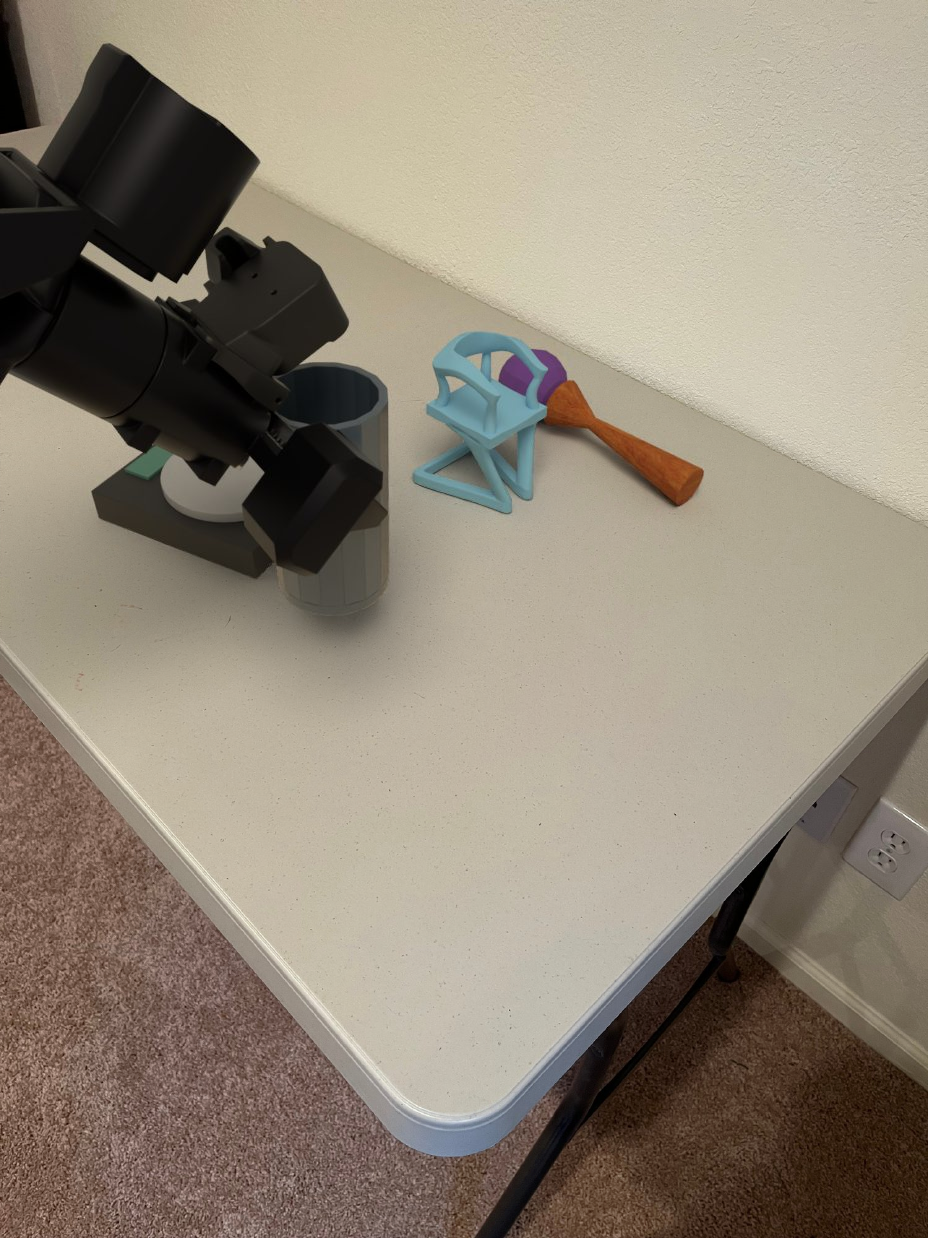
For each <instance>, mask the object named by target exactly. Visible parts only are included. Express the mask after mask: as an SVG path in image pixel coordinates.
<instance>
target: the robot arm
mask: <svg viewBox="0 0 928 1238" xmlns="http://www.w3.org/2000/svg"><path fill="white" fill-rule="evenodd" d="M260 164H261V160H260V159H259V157H258V156H257V155H256V153H254V151H253V150H252V149H250V147H249V146H248V145H247V144H246V143H244V141H243V140H241V138H240V137H238V135H236V134H235V133H234V132H233V131H232V130H231V129H229V128H228V126H227V125H225V124H224V123H222V122H221V121H220V120H219V119H218V118H216V117H214V116H212V115H211V114H209V113H208V112H206V111H204V110H202V109H201V108H200V107H198V106H196V105H195V104H193V103H191V102H190V101H188V100H187V99H185V98H184V97H183V96H182V95H180V94H179V93H178V92H177V91H176V90H174V89H173V88H171V87H170V86H169V85H167V83H165V82H163V81H162V80H161V79H159V78H158V77H157V76H155V75H154V74H153V73H152V72H150V71H149V70H148V69H147V68H146V67H144V65H143V64H141V62H139V61H138V59H136V58H135V57H133V56H132V55H131V54H130V53H128V52H127V51H124V50H123V49H121V48H120V47H117V46H116V45H114V44H113V43H111V42H108V43H107V42H106V43H102V44H101V46H100V47H99V49H98V51H97V53H96V54H95V56H94V58H93V59H92V61H91V62H90V65H89V66H88V68H87V70H86V72H85V75H84V79H83V82H82V86H81V89H80V92H79V93H78V95H77V98H76V99H75V101H74V102H73V104H72V106H71V108H70V109H69V111H68V112H67V114H66V116H65V117H64V120H63V121H62V122H61V124H60V125H59V127H58V129H57V130H56V132H55V134H54V136H53V137H52V139H51V141H50V142H49V144H48V146H47V148H46V149H45V150H44V153H43V154H42V156H41V158H40V159H39V161H38V162H37V164H36V163H35V162H34V161H32V160H31V159H30V158H28V157H27V156H26V155H25V154H24V153H23V152H21V151H20V150H19V149H18V148H15V147H10V146H9V147H5V146H3V147H0V386H1V385H2V384H3V382H4V381H5V379H6V377H7V376H8V375H11V376H13V377H15V378H17V379H19V380H21V381H23V382H25V383H27V384H29V385H31V386H33V387H36V388H37V389H40V390H41V391H43V392H45V393H47V394H50V395H52V396H54V397H56V398H58V399H61V400H62V401H64V402H66V403H68V404H70V405H72V406H74V407H76V408H78V409H80V410H82V411H85V412H86V413H89V414H91V415H92V416H94V417H96V418H99V419H101V420H103V421H104V422H107V423H108V424H111V426H113V428H114V429H115V431H116V432H117V433H118V435H119V436H120V437H121V439H122V440H123V441H124V443H125V444H126V445H127V446H128V447H130V448H133V449H135V450H136V451H139V452H141V453H145V454H146V453H147V452H148V451H149V449H150V448H151V446H152V445H153V444H154V445H156V446H158V447H160V448H162V449H164V450H166V451H168V452H170V453H172V454H174V455H176V456H178V457H180V458H183V460H184V461H185V462H186V463H187V465H188V466H189V467H190V468H191V470H192V471H193V472H194V473H195V475H196V476H197V477H198V478H199V479H200V480H202V481H204V482H206V483H208V484H210V485H212V486H216V485H217V483H218V482H219V481H220V479H221V478H222V476H223V475H224V474H225V472H226V471H227V469H228V468H229V467H230V466H232V467H233V468H235V469H237V470H241V469H242V468H243V467H244V465H245V464H246V463H247V461H248V459H249V457H251V458H252V459H253V460H254V461H255V463H256V464H257V465H258V466H259V467H260V468H261V469H262V470H263V472H264V474H263V475H262V477H261V478H260V480H259V481H258V482H257V484H256V485H255V487H254V488H253V489H252V491H251V492H250V493H249V495H248V496H247V498H246V499H245V500H244V502H243V503H242V511H243V518H244V525H245V527H246V528H247V530H248V531H249V532H250V533H251V535H252V536H253V537H254V538H255V540H256V541H257V542H258V543H259V544H260V546H261V547H262V548H263V549H264V551H265V552H266V553H267V554H268V555H269V557H270V558H271V559H272V560H273V563H274V564H275V566H276V565H277V566H279V567H281V568H284V569H286V570H288V571H291V572H293V573H296V574H298V575H301V576H303V577H307V576H312V575H317V574H318V573H319V571H320V570H321V569H322V567H323V566H324V565H325V563H326V562H327V561H328V559H329V558H330V557H331V555H332V554H333V553H334V552H335V550H336V549H337V548H338V546H339V545H340V544H341V542H342V541H343V540H344V538H345V537H346V536H347V534H348V533H349V532H352V531H357V530H363V529H369V528H375V527H378V526H379V525H380V524H381V522H382V521H383V520H384V518H385V517H386V516H387V514H388V511H387V510H386V509H385V508H384V507H383V506H382V505H381V504H380V503H379V502H378V501H377V500H376V499H375V497H376V496H377V495H378V493H379V492H380V491H381V489H382V487H383V472H382V471H381V470H380V469H379V468H378V467H377V466H376V465H375V464H374V463H373V462H372V461H371V460H370V459H369V458H368V457H367V456H366V455H365V454H364V453H363V452H362V451H361V450H360V449H359V448H358V447H357V446H355V445H354V444H353V443H352V442H351V441H350V440H349V439H348V438H347V437H346V436H345V435H343V434H342V433H341V432H340V431H339V430H338V429H337V430H335V429H333V428H331V427H330V426H328V425H327V424H325V423H323V422H322V421H320V422H317V423H314V424H311V425H307V426H304V427H301V428H298V429H296V430H294V429H293V428H292V427H291V426H290V425H289V424H288V423H287V422H286V421H285V420H284V419H283V418H282V417H281V416H280V415H279V414H278V413H277V412H276V411H277V410H278V409H279V407H280V406H281V405H282V403H283V402H284V400H285V399H286V398H287V396H288V395H289V393H290V392H291V391H290V390H289V389H288V388H287V387H286V386H285V385H284V384H283V383H282V382H280V381H279V380H277V379H276V378H274V377H272V376H280V375H284V374H286V373H288V372H290V371H291V370H293V369H294V368H295V367H297V366H298V365H299V364H303V362H305V361H306V360H307V359H308V358H310V357H311V356H312V355H313V354H315V353H316V352H317V351H319V350H320V349H321V348H322V347H324V346H325V345H327V344H328V343H334V342H336V341H337V340H338V339H340V338H341V337H342V336H344V334H345V333H346V332H347V330H348V328H349V326H350V319H349V317H348V315H347V313H346V312H345V309H344V307H343V306H342V304H341V301H340V300H339V298H338V296H337V294H336V292H335V290H334V289H333V287H332V285H331V283H330V281H329V280H328V277H327V275H326V274H325V272H324V269H323V268H322V266H321V265H319V263H317V262H316V261H315V260H314V259H312V258H311V257H310V256H308V255H307V254H306V253H304V252H303V251H302V250H300V249H299V248H298V247H297V246H296V245H294V244H293V243H291V242H290V241H287V240H278V241H276V240H275V239H274V238H272V237H271V236H270V235H267V236H266V237H264V238H262V243H263V244H264V246H265V247H261V246H259V245H258V244H256V243H255V242H254V241H252V240H251V239H249V238H248V237H246V236H244V235H242V234H241V233H239V232H238V231H236V230H234V229H232V228H231V227H229V226H225V227H223V228H222V229H220V230H219V228H220V226H221V224H222V223H223V222H224V220H225V219H226V216H227V215H228V214H229V212H230V211H231V209H232V208H233V207H234V205H235V203H236V201H237V200H238V198H239V197H240V195H241V194H242V192H243V191H244V189H245V188H246V185H248V183H249V182H250V180H251V178H252V177H253V175H254V173H255V172H256V171H257V169H258V167H259V166H260ZM218 230H219V231H218ZM217 231H218V232H217ZM88 243H90V244H91V245H93V246H94V247H96V248H97V249H98V250H100V251H102V252H103V253H104V254H106V255H108V257H111V258H112V259H113V260H114V261H116V262H118V263H119V264H120V265H122V266H124V267H125V268H126V269H128V270H129V271H131V272H133V274H136V275H137V276H138V277H140V278H142V279H144V280H146V281H147V282H150V283H153V281H154V280H155V279H156V277H157V276H158V274H160V275H161V276H162V277H164V278H166V279H168V280H169V281H171V282H172V283H174V284H176V285H178V283H179V282H180V280H181V279H182V276H183V275H185V276H189V274H190V273H191V272H192V270H193V268H194V266H195V265H196V264H197V262H198V260H199V259H200V258H201V256H202V254H203V252H204V253H205V262H206V263H205V264H206V271H207V272H206V273H207V276H208V280H207V281H206V282H205V283H203V285H202V286H203V288H205V291H206V292H207V296H204V298H203V299H202V300H200V301H199V299H197V298H192V299H186V300H182V301H178V300H177V299H175V298H173V297H172V296H169V295H168V297H167V298H166V299H164V298H162V297H161V296H159V295H157V296H156V297H155V298H154V300H153V299H152V298H151V297H149V296H147V295H146V294H144V293H142V292H141V291H139V290H138V289H136V288H135V287H134V286H132V285H130V284H128V283H127V282H126V281H124V280H122V279H121V278H119V277H118V276H116V275H115V274H113V273H111V272H110V271H108V270H106V269H105V268H103V267H102V266H101V265H99V264H97V263H96V262H94V261H93V260H91V259H90V258H88V257H86V256H85V255H84V254H82V252H83V251H84V249H85V247H86V246H87V245H88ZM266 431H267V432H268V434H269V435H271V437H272V438H273V439H275V441H276V442H277V443H279V446H281V447H283V448H282V449H281V448H280V447H279V446H278V445H277V444H276V443H275V442H274V441H273V440H272V439H271V438H270V437H269V435H268V434H267V433H266Z"/></svg>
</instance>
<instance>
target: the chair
mask: <svg viewBox="0 0 928 1238" xmlns="http://www.w3.org/2000/svg"><path fill="white" fill-rule="evenodd" d="M531 349H532V348H530V347H529V345H528V344H527V343H526V342H524V341H523V340H522V339H519V338H518V337H514V336H510V335H506V334H502V333H498V332H492V331H485V330H484V331H482V330H474V331H466V332H464V333H460V334H458V335H457V336H455V337H454V338H453V339H451V340H450V341H449V342H448V343H446V345H444V347H443V348H441V350H439V352H438V353H437V354H436V355H435V356H434V358H433V360H432V363H431V365H432V369H433V372H434V375H435V378H436V381H437V385H438V394H437V397H436V398H435V399H433V400H431V401H429V402H427V403H426V405H425V408H426V409H425V415H427V416H429V417H430V418H432V419H434V420H436V421H438V422H440V423H443V424H444V425H445V426H447V427H448V428H449V429H450V430H451V431H452V432H454V433H455V434H456V435H457V436H458V437H459V438H460V439H461V440H462V441H463V442H461V443H459V444H458V445H456V446H454V447H452V448H450V449H448V450H447V451H445V452H444V453H442V454H440V455H438V456H436V457H435V458H433V459H430V460H429V461H428V462H426V463H424V464H422V465H421V466H419V467H418V468H416V469H414V470H413V472H412V481H413V482H414V483H415V484H417V485H419V486H421V487H425V488H428V489H429V490H434V491H436V492H440V493H443V494H446V495H449V496H452V497H455V498H459V499H463V500H465V501H469V502H473V503H476V504H479V505H482V506H485V507H487V508H490V509H492V510H495V511H498V512H501V513H503V514H510V513H511V512H512V511H513V504H512V503H513V502H512V501H513V499H512V497H511V494H509V492H508V490H507V488H506V486H508V487H509V488H510V489H511V490H512V491H513V492H514V493H515V494H516V495H517V496H519V497H520V498H521V499H523V500H527V501H529V500H531V499H533V496H534V495H533V494H534V493H533V491H534V490H533V489H534V487H533V486H534V485H533V484H534V483H533V482H534V455H535V453H534V451H535V439H536V438H535V436H536V429H537V424H538V422H540V421H542V420H544V418H545V417H546V414H547V406H545V405H543V404H541V403H539V402H538V400H537V391H538V388H539V385H540V383H541V381H542V379H543V377H544V376H545V374H546V372H547V370H548V368H547V367H546V366H545V365H543V364H542V363H541V362H540V361H539V360H538V358H537V357H536V356H535V354H534V353H533V352H532V350H531ZM496 352H508V353H510V354H513V355H514V354H515V355H516V356H517V357H519V358H520V359H521V360H522V361H523V362H524V364H525V365H526V366H527V367H528V368H529V370H530V371H531V373H532V374H533V375H534V378H533V380H532V381H531V383H530V385H529V387H528V389H527V392H526V397H525V396H523V395H521V394H519V393H517V392H515V391H513V390H511V389H509V388H507V387H506V386H504V385H503V384H501V383H499V382H498V380H497V379H494V378H492V353H496ZM480 354H481V363H480V369H479V368H478V367H477V366H476V365H475V364H474V363H473V362H472V361H471V360H470V359H468V358H469V357H472V356H474V355H480ZM447 377H450V378H455V379H458V380H461V381H462V382H463V383H465V384H464V385H462V386H461V387H459V388H456V389H455V390H453V391H451V387H450V384H449V382H448V380H447ZM515 434H516V440H517V441H516V443H517V446H516V447H517V456H516V457H517V460H516V462H517V464H516V465H517V467H516V470H515V469H514V468H513V467H512V466H511V465H510V464H509V463H508V461H506V460H505V458H503V456H502V455H501V454H500V453H499V452H498V451H497V450H496V449H495V448H496V447H497V446H499V445H501V444H503V443H504V442H505V441H506V440H508V439H509V438H511V437H512V436H513V435H515ZM469 453H472V455H473V457H474V459H475V460H476V462H477V464H478V466H479V468H480V469H481V471H482V474H483V476H484V477H485V479H486V481H487V483H488V485H489V488H490V489H488V488H484V487H481V486H477V485H473V484H470V483H466V482H462V481H459V480H455V479H451V478H448V477H445V476H441V475H437V474H435V473H437V472H438V471H440V470H441V469H444V468H445V467H446V466H448V465H450V464H452V463H453V462H456V461H457V460H458V459H460V458H462V457H463V456H466V455H468V454H469ZM504 483H505V484H506V486H505V484H504Z"/></svg>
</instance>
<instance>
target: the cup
mask: <svg viewBox="0 0 928 1238" xmlns="http://www.w3.org/2000/svg"><path fill="white" fill-rule="evenodd" d="M272 377H274V378H276V379H277V380H279V381H280V382H282V383H283V384H284V385H285V386H286V387H287V388H288V389H289V390H290V391H291V392H290V393H289V395H288V396H287V398H286V399H285V400H284V402H283V403H282V405H281V406H280V407H279V409H278V410H277V411H276V412H277V413H278V414H279V415H280V416H281V417H282V418H283V419H284V420H285V421H286V422H287V423H288V424H289V425H290V426H291V427H292V428H293V429H294V430H296V429H298V428H301V427H304V426H307V425H311V424H314V423H317V422H320V421H322V422H323V423H325V424H327V425H328V426H330V427H331V428H333V429H335V430H337V429H338V430H339V431H340V432H341V433H342V434H343V435H345V436H346V437H347V438H348V439H349V440H350V441H351V442H352V443H353V444H354V445H355V446H357V447H358V448H359V449H360V450H361V451H362V452H363V453H364V454H365V455H366V456H367V457H368V458H369V459H370V460H371V461H372V462H373V463H374V464H375V465H376V466H377V467H378V468H379V469H380V470H381V471H382V472H383V487H382V489H381V491H380V492H379V493H378V495H377V496H376V497H375V499H376V500H377V501H378V502H379V503H380V504H381V505H382V506H383V507H384V508H385V509H386V510H387V511H388V514H387V516H386V517H385V518H384V520H383V521H382V522H381V524H380V525H379V526H378V527H375V528H369V529H363V530H357V531H352V532H349V533H348V534H347V536H346V537H345V538H344V540H343V541H342V542H341V544H340V545H339V546H338V548H337V549H336V550H335V552H334V553H333V554H332V555H331V557H330V558H329V559H328V561H327V562H326V563H325V565H324V566H323V567H322V569H321V570H320V571H319V573H318V574H317V575H312V576H307V577H303V576H301V575H298V574H296V573H293V572H291V571H288V570H286V569H284V568H281V567H279V566H277V565H276V564H275V567H276V576H277V579H278V585H279V589H280V592H281V594H282V595H283V597H284V598H285V599H286V600H287V601H288V602H289V603H290V604H291V605H293V606H294V607H296V608H298V609H300V610H302V611H304V612H307V613H310V614H313V615H320V616H330V617H331V616H333V617H334V616H335V617H336V616H345V615H349V614H353V613H357V612H360V611H363V610H364V609H366V608H368V607H370V606H372V605H373V604H375V603H376V602H378V600H379V599H381V597H382V596H383V594H384V593H385V592H386V590H387V588H388V584H389V578H390V576H389V575H390V502H389V501H390V489H389V487H390V485H389V483H390V481H389V479H390V475H389V474H390V473H389V471H390V469H389V468H390V467H389V466H390V463H389V462H390V461H389V460H390V459H389V455H390V453H389V451H390V450H389V444H390V443H389V392H388V390H389V389H388V387H387V385H386V383H384V382H383V381H382V380H381V378H380V377H379V376H378V375H376V374H374V373H372V372H370V371H368V370H366V369H364V368H362V367H360V366H358V365H352V364H347V363H342V362H339V361H338V362H336V361H310V362H304V363H301V364H299V365H298V366H297V367H295V368H294V369H293V370H291V371H290V372H288V373H286V374H284V375H280V376H272ZM266 433H267V434H268V432H267V431H266ZM268 435H269V434H268ZM269 437H270V438H271V439H272V440H273V441H274V442H275V443H276V444H277V445H278V446H279V443H277V442H276V441H275V439H273V438H272V437H271V435H269ZM279 447H280V448H281V449H282V448H283V447H281V446H279Z"/></svg>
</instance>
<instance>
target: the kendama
mask: <svg viewBox="0 0 928 1238" xmlns="http://www.w3.org/2000/svg"><path fill="white" fill-rule="evenodd" d="M530 349H531V350H532V352H533V353H534V354H535V356H536V357H537V358H538V360H539V361H540V362H541V363H542V364H543V365H545V366H546V367H547V368H548V370H547V372H546V374H545V376H544V377H543V379H542V381H541V383H540V385H539V388H538V391H537V400H538V402H539V403H541V404H543V405H545V406H547V414H546V417H545V418H543V421H544V423H545V424H546V425H547V426H556V427H564V428H565V427H566V428H575V429H576V428H577V429H585V430H589V431H590V432H591V433H592V434H593V435H595V436H596V437H597V438H598V439H600V441H601V442H603V443H604V444H605V445H607V447H609V448H610V449H611V450H612V451H614V452H615V453H616V454H617V455H618V456H620V457H621V459H623V460H624V461H625V462H627V463H628V464H629V465H630V466H631V467H632V468H633V469H635V470H636V471H637V472H638V473H639V474H641V475H642V476H643V477H644V478H645V479H646V480H647V481H649V482H650V483H651V484H652V485H654V487H656V488H657V489H658V490H659V491H660V492H662V493H663V494H664V495H665V496H666V497H667V498H669V499H670V500H671V501H672V502H674V503H675V504H676V505H677V506H683V505H684V504H685V503H687V502H688V501H689V500H690V499H691V498H692V497H693V496H694V495H695V493H696V492H697V490H698V489H699V487H700V485H701V484H702V481H703V479H704V475H705V470H704V469H703V468H702V467H700V466H698V465H696V464H693V463H691V462H689V461H687V460H685V459H683V458H681V457H679V456H676V455H675V454H673V453H670V452H668V451H667V450H664V449H662V448H660V447H658V446H657V445H654V444H652V443H650V442H647V441H646V440H643V439H641V438H640V437H637V436H635V435H633V434H631V433H629V432H627V431H625V430H622V429H620V428H618V427H616V426H615V425H613V424H610V423H608V422H606V421H604V420H602V419H600V418H598V417H596V416H595V414H594V412H593V410H592V408H591V407H590V405H589V403H588V401H587V399H586V398H585V395H584V394H583V392H582V390H581V389H580V387H579V384H578V383H577V382H576V381H575V380H573V379H568V372H567V370H566V369H565V367H564V365H563V364H562V362H561V361H560V360H559V358H558V357H557V355H556V356H555V355H554V354H553V353H551V352H549V350H546V349H539V348H538V349H537V348H530ZM533 378H534V375H533V374H532V373H531V371H530V370H529V368H528V367H527V366H526V365H525V364H524V362H523V361H522V360H521V359H520V358H519V357H517V356H516V355H515V354H513V355H511V356H510V357H508V358H507V360H506V361H505V363H504V364H503V365H502V366H501V369H500V371H499V374H498V380H497V381H498V382H499V383H501V384H503V385H504V386H506V387H507V388H509V389H511V390H513V391H515V392H517V393H519V394H521V395H523V396H525V397H526V392H527V389H528V387H529V385H530V383H531V381H532V380H533Z"/></svg>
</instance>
